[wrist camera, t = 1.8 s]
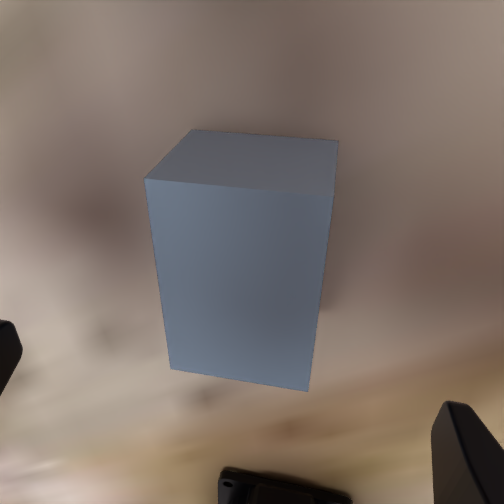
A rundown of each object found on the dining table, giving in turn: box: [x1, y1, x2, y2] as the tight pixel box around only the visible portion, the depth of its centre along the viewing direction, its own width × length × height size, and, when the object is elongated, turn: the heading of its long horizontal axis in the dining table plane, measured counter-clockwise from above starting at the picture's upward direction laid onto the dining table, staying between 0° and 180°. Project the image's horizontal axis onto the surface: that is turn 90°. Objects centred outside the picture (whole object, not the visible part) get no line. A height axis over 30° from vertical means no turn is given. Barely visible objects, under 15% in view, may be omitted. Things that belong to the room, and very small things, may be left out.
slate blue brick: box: [144, 130, 338, 392], centre depth 12 cm, size 6×4×4 cm, turn 179°
